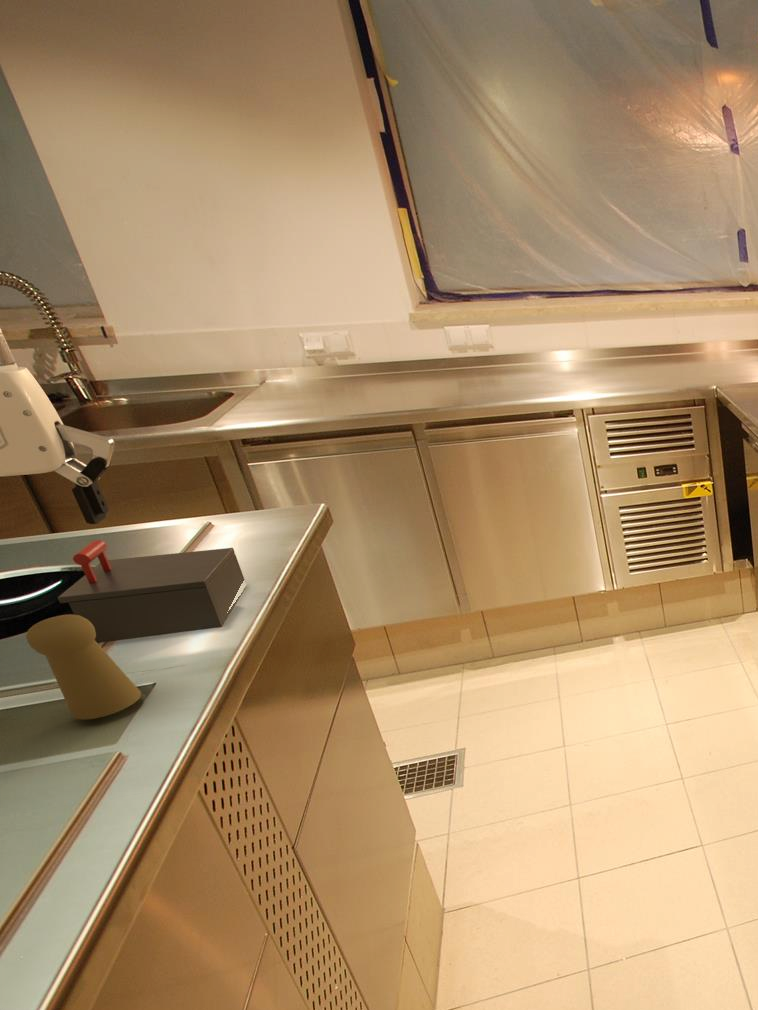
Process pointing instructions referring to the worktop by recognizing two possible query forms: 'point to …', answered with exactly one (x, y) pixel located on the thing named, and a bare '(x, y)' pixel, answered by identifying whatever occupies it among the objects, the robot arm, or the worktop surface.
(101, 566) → the box lid
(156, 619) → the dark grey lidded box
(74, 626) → the cork
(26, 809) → the worktop surface
